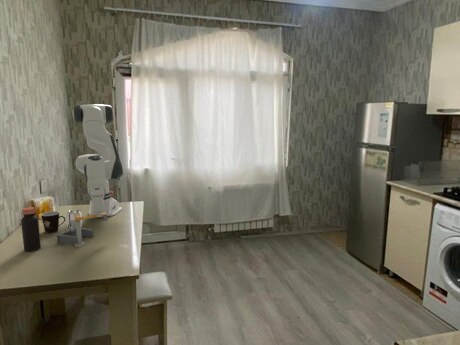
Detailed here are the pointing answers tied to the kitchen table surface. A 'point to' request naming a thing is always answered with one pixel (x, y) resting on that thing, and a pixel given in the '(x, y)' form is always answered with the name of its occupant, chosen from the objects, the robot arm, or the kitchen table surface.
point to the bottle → (30, 230)
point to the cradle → (75, 240)
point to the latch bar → (91, 217)
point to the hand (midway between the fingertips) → (99, 216)
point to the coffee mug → (51, 221)
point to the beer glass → (73, 221)
